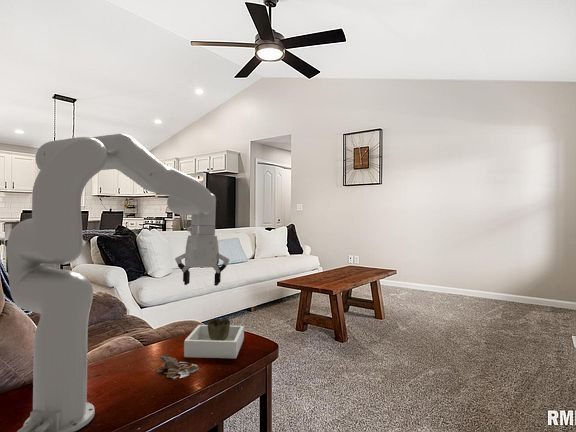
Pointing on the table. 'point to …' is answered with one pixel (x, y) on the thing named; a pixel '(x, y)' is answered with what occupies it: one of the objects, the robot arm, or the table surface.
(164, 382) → the table surface
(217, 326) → the embossed bronze vase
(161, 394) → the table surface
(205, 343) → the bin
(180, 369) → the frog figurine
